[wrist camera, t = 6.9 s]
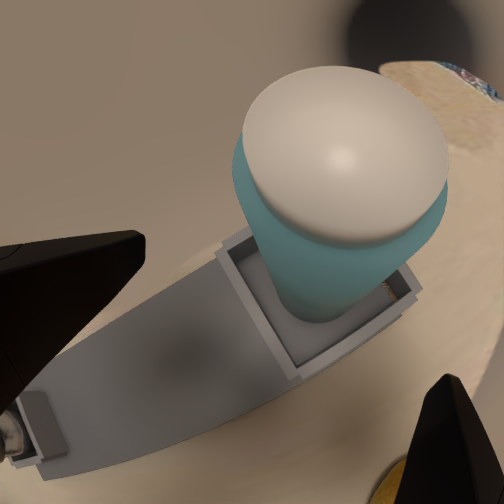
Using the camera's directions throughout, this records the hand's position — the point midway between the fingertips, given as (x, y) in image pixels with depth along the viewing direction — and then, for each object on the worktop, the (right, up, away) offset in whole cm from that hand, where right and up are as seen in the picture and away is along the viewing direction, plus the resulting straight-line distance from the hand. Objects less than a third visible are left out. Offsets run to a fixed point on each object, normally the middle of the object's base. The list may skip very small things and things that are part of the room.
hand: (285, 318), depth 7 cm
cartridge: (+3, 0, +10) cm, 10 cm away
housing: (-7, -7, +11) cm, 15 cm away
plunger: (-18, -13, +9) cm, 24 cm away
